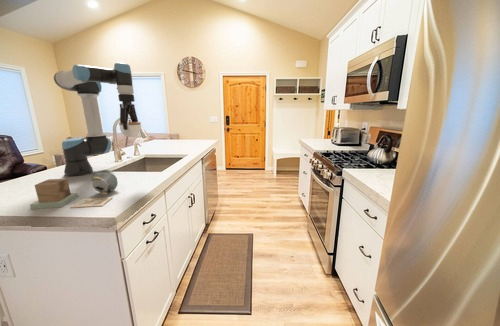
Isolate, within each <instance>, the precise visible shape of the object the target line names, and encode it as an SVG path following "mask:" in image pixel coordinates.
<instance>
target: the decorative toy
mask: <svg viewBox="0 0 500 326" xmlns="http://www.w3.org/2000/svg"><path fill="white" fill-rule="evenodd" d="M91 181H92V187H93V189H94V190H95V191H97V192H98V193H99V194H101V195H102V194H104V195H108V194H109V193H111V192H109V191H113V190H115V189H116V188H117V186H118V182H119V181H118V178H117V176H116V175H115V174H113V173H110V172H96V173H95V174H94V175H93V176H92V178H91Z"/></svg>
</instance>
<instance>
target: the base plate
mask: <svg viewBox="0 0 500 326" xmlns="http://www.w3.org/2000/svg"><path fill="white" fill-rule="evenodd" d="M70 193H71V195H69V196H67V197H65V198H64V199H62V200H60V201H52V202H39V200H36V201H33V202H32V203H30V204H29V207H30V209H31V210H32V209H33V210H35V209H51V208H52V209H53V208H62V207H64V206H66V205H68V204H69V203H70V202H72V201H74V200H75V199H77V198H79V193H78V192H70Z"/></svg>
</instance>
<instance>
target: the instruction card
mask: <svg viewBox="0 0 500 326" xmlns="http://www.w3.org/2000/svg"><path fill="white" fill-rule="evenodd" d="M112 199H113V197H112V196H111V197H93V198H92V197H91V198H82V199H80V200H79V201H77V202H75V203H74V204H73V205H71V206H70V207H69V208H70V209H75V208H95V207H103V206H104V205H106V204H107V203H108V202H110V200H112Z"/></svg>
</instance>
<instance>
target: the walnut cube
mask: <svg viewBox="0 0 500 326" xmlns="http://www.w3.org/2000/svg"><path fill="white" fill-rule="evenodd" d="M34 188H35V192H36V197H37V199H38V200H39V202H52V201H60V200H62V199H64V198H65V197H67V196H69V195H71V193H72V192H71V189H70V185H69V179H68V178H53V179H52V178H51V179H50V178H49V179H46V180H43V181H41V182H38V183H36V184H34ZM38 200H37V201H38Z"/></svg>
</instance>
